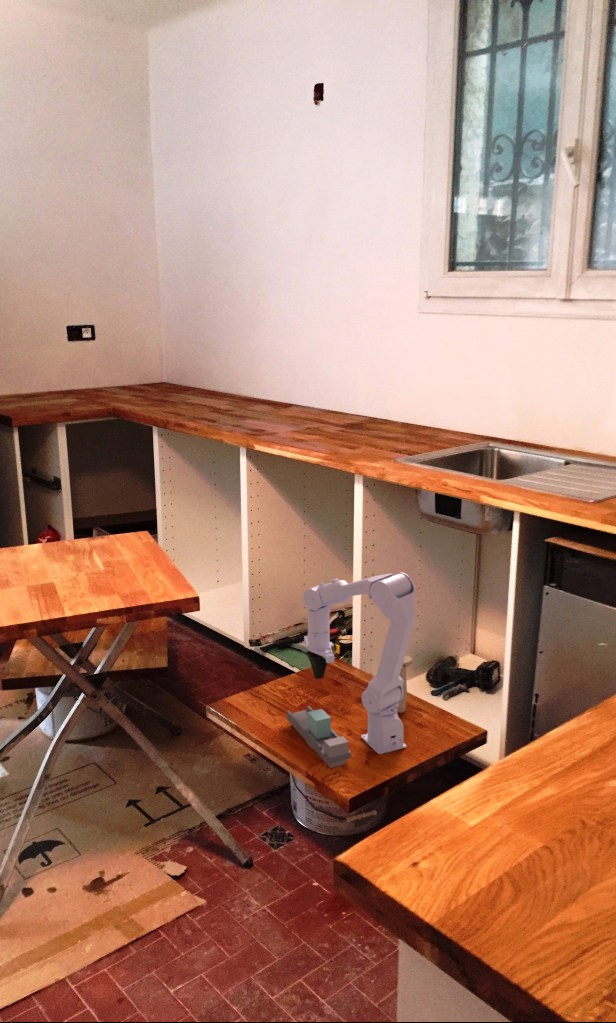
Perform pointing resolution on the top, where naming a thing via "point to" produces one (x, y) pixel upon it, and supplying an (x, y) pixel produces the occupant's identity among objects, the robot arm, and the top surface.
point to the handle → (404, 684)
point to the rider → (319, 724)
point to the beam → (321, 740)
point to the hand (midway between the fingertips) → (318, 677)
